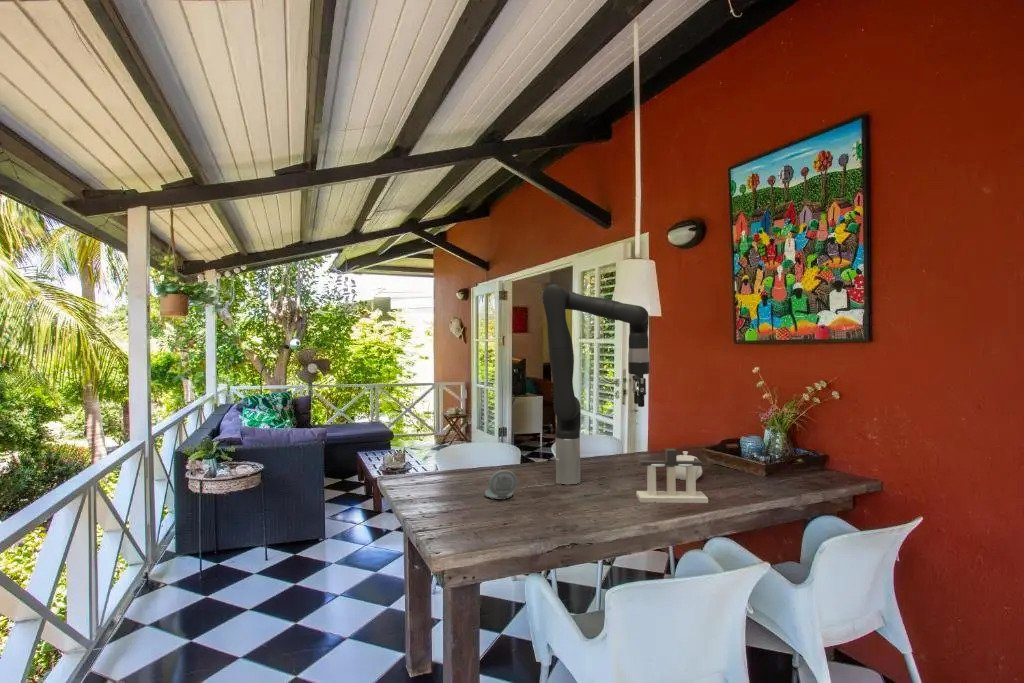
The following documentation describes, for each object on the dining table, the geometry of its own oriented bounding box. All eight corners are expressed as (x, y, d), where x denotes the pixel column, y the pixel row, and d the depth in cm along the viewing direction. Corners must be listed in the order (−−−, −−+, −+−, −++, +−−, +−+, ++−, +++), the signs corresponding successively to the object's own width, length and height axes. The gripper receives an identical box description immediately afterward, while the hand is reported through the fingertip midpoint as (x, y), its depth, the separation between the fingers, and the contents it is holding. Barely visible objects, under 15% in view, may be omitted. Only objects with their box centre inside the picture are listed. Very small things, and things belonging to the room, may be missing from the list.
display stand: (640, 502, 175) (639, 467, 175) (636, 495, 183) (635, 462, 183) (708, 502, 174) (707, 468, 174) (701, 495, 182) (700, 462, 182)
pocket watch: (489, 471, 176) (480, 461, 190) (489, 504, 176) (480, 491, 190) (518, 469, 178) (507, 459, 193) (518, 501, 178) (507, 489, 193)
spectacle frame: (642, 466, 177) (642, 451, 177) (638, 460, 185) (637, 446, 185) (703, 467, 175) (703, 451, 175) (696, 461, 184) (696, 446, 184)
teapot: (715, 483, 197) (715, 456, 197) (685, 485, 194) (685, 458, 194) (687, 470, 217) (686, 445, 217) (659, 472, 214) (658, 447, 214)
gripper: (625, 360, 200) (626, 402, 200) (631, 361, 186) (631, 407, 186) (645, 360, 200) (646, 402, 200) (652, 361, 185) (653, 407, 185)
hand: (639, 405), depth 193 cm, fingers open, 8 cm apart
